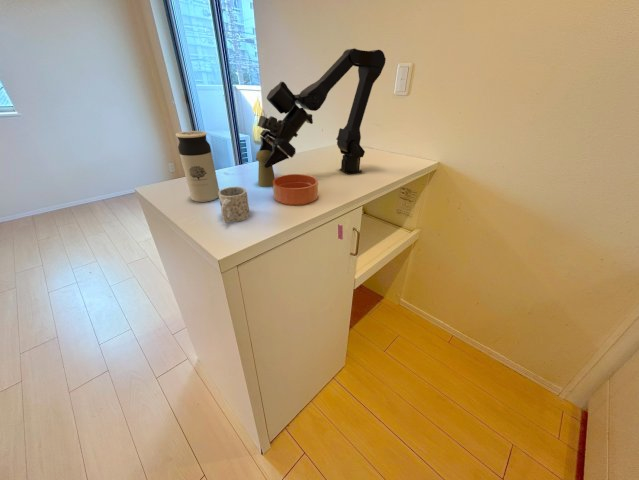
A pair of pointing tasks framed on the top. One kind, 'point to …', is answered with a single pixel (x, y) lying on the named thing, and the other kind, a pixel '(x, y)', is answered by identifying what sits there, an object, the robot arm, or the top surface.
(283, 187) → the orange brown bowl
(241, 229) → the top surface
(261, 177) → the cork
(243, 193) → the mug
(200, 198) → the travel mug
